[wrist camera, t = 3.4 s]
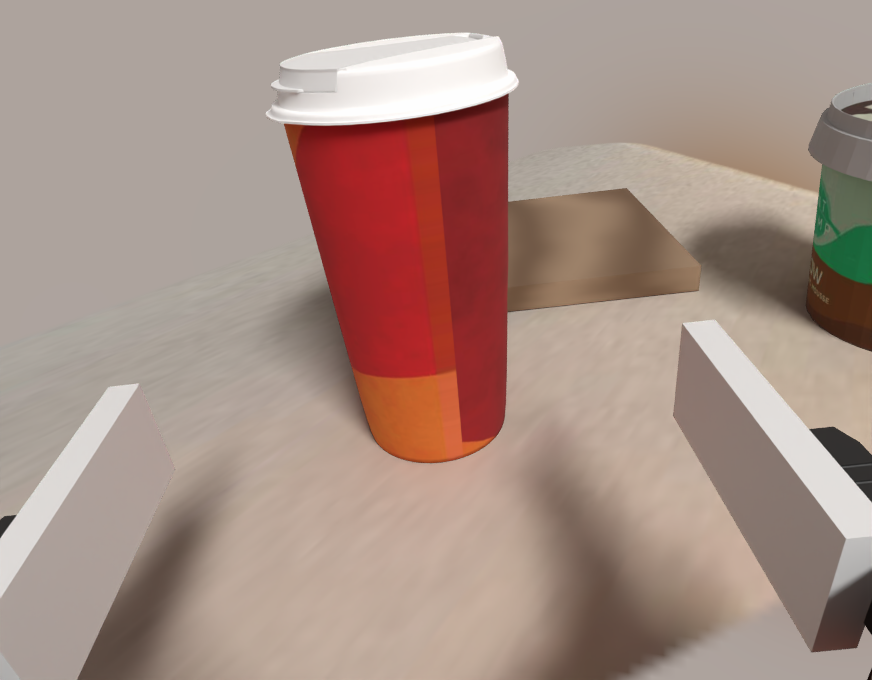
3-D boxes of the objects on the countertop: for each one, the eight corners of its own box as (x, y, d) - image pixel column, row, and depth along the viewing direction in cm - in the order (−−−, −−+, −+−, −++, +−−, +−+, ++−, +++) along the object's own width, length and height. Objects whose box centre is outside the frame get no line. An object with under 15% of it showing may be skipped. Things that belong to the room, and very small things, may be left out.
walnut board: (377, 326, 36) (373, 302, 35) (385, 235, 48) (382, 216, 47) (698, 290, 36) (701, 265, 35) (625, 207, 48) (626, 188, 47)
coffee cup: (484, 350, 33) (458, 25, 25) (568, 443, 26) (566, 36, 18) (324, 397, 31) (242, 58, 23) (369, 512, 24) (274, 84, 16)
